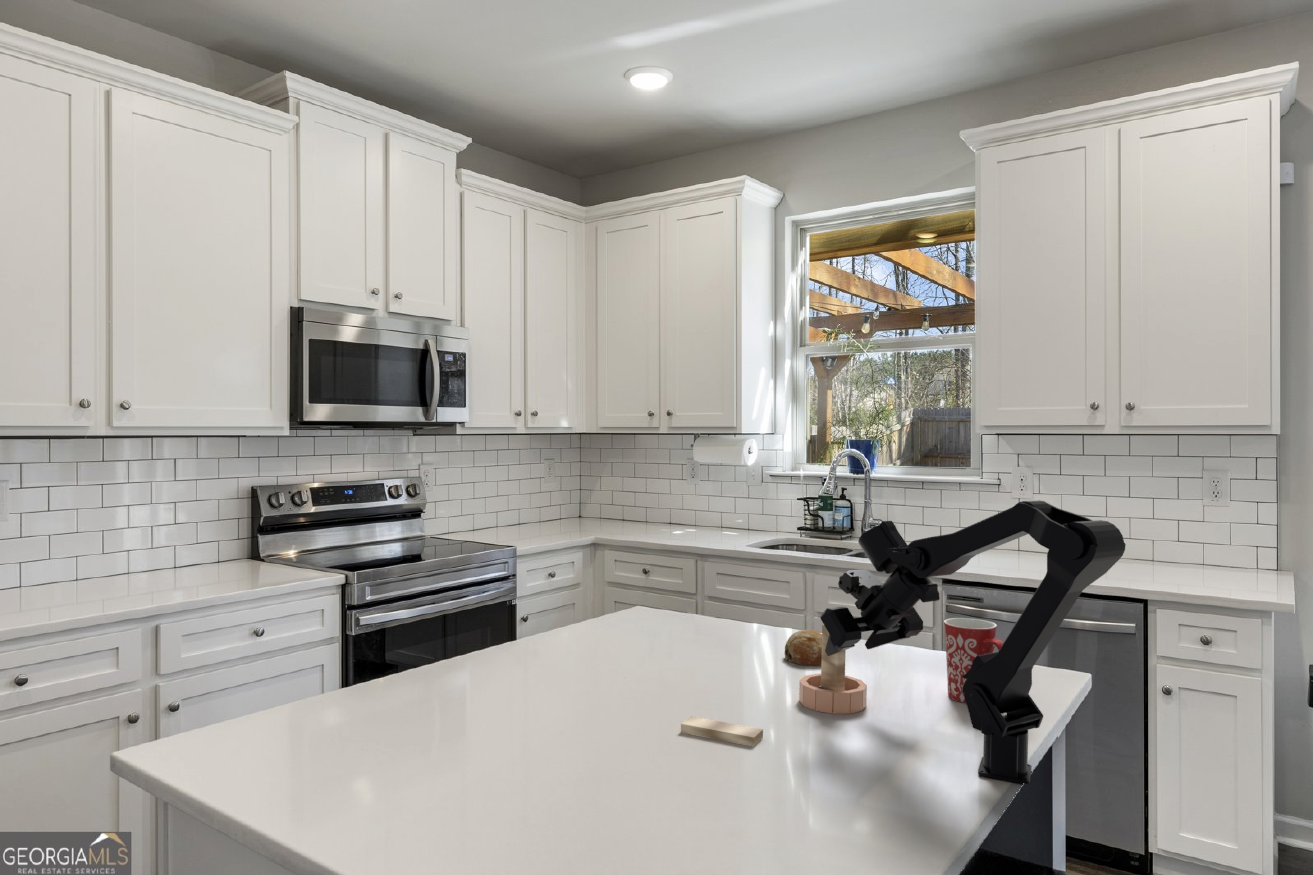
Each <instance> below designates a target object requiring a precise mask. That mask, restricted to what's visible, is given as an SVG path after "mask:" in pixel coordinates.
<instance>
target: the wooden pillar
mask: <svg viewBox="0 0 1313 875" xmlns="http://www.w3.org/2000/svg"><path fill="white" fill-rule="evenodd" d="M821 625H822V626H821V628H822V629H821V634H822V663H821V668H820V669H821V670H820V672H821V673H820V674H821V686H818V688H819V689H825V690H832V691H846V690H845V676H846V652H847V649H846V650H844V651H841V652H839V653H836V654H833V655H831V656H827V654H826V652H825V649H826V645H827V641H828V638H829V632H828V631H827V629H826V627H825V626H824V624H823V623H822V624H821Z"/></svg>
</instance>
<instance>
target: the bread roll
mask: <svg viewBox="0 0 1313 875" xmlns="http://www.w3.org/2000/svg"><path fill="white" fill-rule="evenodd" d="M783 655H784V656H785V657H784V660H785V661H787V662H790V663H792V664H797V665H799V666H805V667H820V666H821V663H822V633H820V632H819V631H815V630H812V629H801V630H798V631H795V632H794V633H792V634H791V635H790V636H789V637H788V639H787V641H786V643H785V645H784V654H783Z"/></svg>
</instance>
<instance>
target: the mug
mask: <svg viewBox="0 0 1313 875" xmlns="http://www.w3.org/2000/svg"><path fill="white" fill-rule="evenodd" d="M943 624H944V631H945V654H946V656H945V657H946V673H947V674H946V675H947V676H946V678H947V695H948V697H949V698H950V699H952V700H954V701H956V702H959V703H965V704H966V701H965V698H964V694H963V692H962V688H963V684H964V682H965V680H966V679H965V678H963V675H965V674H966V673H967V672H968V671H969V670H970V668H971V665H972V662H973V660H974V659H975V657H976V656H979V655H984V654H989V653H995V647H996V648H997V651H999V650H1000V648H1001V646H1002V645H1003V643H1004V642H1003V641H1002V640H1000V639H996V630H997V628H998V624H996V623H995V622H993V621H990V620H989V621H988V620H986V619H985V620H983V619H977V618H970V617H969V618H968V617H965V618H964V617H953V618H951V617H950V618H947V619H945V620H943Z"/></svg>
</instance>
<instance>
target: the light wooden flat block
mask: <svg viewBox="0 0 1313 875" xmlns="http://www.w3.org/2000/svg"><path fill="white" fill-rule="evenodd" d="M681 733H682V734H687V735H693V736H697V737H703V738H708V739H713V740H719V741H724V742H728V743H732V744H733V743H734V744H739V745H744V746H747V747H748V746H749V747H753V748H754V747H756V746H757V744H758V743H760V742H761V741H762V740H763V739H764V728H763V729H762V728H758V727H753V726H752V727H751V726H748V725H747V726H745V725H741V724H737V723H736V724H735V723H732V722H731V723H730V722H725V721H719V720H713V719H708V718H705V717H704V718H703V717H697V716H692V715H691V716H690V717H688V718H687V719H686V720H684V721H682V722H681V723H680V734H681Z"/></svg>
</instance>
